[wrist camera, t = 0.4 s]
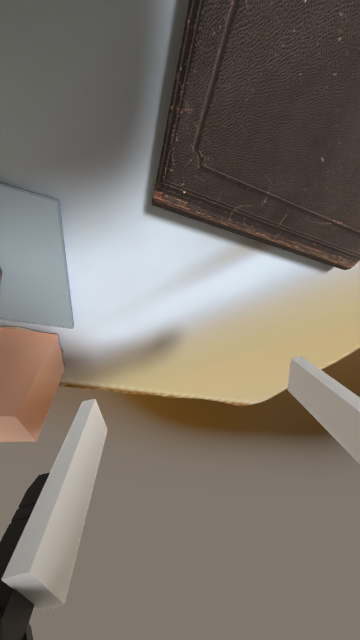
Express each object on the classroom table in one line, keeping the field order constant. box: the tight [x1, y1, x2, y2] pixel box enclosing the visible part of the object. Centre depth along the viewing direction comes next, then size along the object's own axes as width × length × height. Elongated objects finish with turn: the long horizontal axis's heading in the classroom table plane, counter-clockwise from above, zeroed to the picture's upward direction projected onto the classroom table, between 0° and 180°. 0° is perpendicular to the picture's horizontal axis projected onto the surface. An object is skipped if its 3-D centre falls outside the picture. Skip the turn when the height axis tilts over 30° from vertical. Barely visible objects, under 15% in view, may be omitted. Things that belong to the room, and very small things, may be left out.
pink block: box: [0, 327, 65, 442], centre depth 25 cm, size 10×10×11 cm
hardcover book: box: [152, 0, 360, 270], centre depth 14 cm, size 16×23×2 cm
